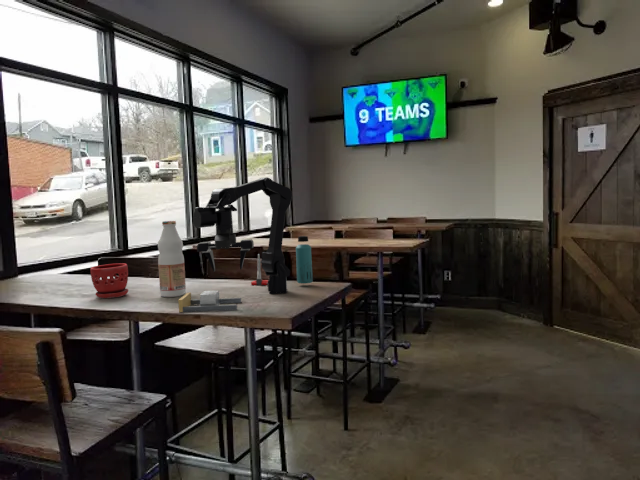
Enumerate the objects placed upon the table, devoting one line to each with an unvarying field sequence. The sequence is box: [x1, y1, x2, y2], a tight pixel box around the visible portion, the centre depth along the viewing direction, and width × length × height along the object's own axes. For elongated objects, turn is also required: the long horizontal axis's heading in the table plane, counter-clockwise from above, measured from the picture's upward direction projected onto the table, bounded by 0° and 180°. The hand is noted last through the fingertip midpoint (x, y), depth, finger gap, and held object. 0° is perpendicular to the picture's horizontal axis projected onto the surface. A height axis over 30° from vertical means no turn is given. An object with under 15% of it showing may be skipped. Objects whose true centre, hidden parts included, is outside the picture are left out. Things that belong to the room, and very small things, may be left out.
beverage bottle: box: [295, 235, 314, 285], centre depth 200 cm, size 6×7×20 cm
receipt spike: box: [250, 253, 269, 286], centre depth 210 cm, size 8×13×9 cm
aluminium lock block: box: [199, 290, 220, 306], centre depth 166 cm, size 5×7×5 cm
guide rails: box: [178, 292, 242, 313], centre depth 166 cm, size 18×12×4 cm
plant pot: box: [89, 262, 129, 299], centre depth 191 cm, size 13×13×12 cm
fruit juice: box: [157, 220, 187, 298], centre depth 189 cm, size 9×9×28 cm
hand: (227, 270), depth 173 cm, fingers open, 9 cm apart
